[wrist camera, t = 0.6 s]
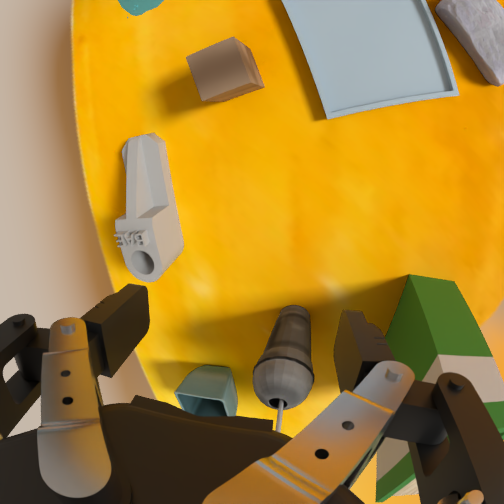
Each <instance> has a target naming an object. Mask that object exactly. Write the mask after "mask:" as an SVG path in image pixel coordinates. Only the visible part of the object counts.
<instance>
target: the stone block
mask: <svg viewBox="0 0 504 504" xmlns="http://www.w3.org/2000/svg"><path fill="white" fill-rule="evenodd" d="M435 12H436V13H437V15H438V16H439V18H440V19H441V20H442V21H443V22H444V23H445V25H446V26H447V27H448V28H449V29H450V31H451V32H452V33H453V34H454V36H455V37H456V38H457V39H458V41H459V42H460V43H461V45H462V46H463V47H464V49H465V50H466V51H467V53H468V54H469V55H470V57H471V58H472V59H473V61H474V63H475V64H476V66H477V67H478V69H479V70H480V72H481V73H482V75H483V76H484V78H485V79H486V80H487V81H488V82H489V83H491V84H493V85H495V86H500V85H502V84H504V9H503V7H502V6H501V5H500V4H499V3H498V2H497V1H496V0H442V1H440V3H439V4H438V5H437V6H436V8H435Z"/></svg>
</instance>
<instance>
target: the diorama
mask: <svg viewBox="0 0 504 504" xmlns="http://www.w3.org/2000/svg"><path fill="white" fill-rule="evenodd" d="M118 1H119V3H120V5H121V7H122V8H123V9H125V10H126V11H127V12H129V13H130V14H131V15H134V16H138V15H141V14H143V13H144V12H146V11H148V10H151V9H153V8H156V7H158V6H159V5H160V4H161V3H162V2H163V1H164V0H118ZM127 18H128V17H127Z"/></svg>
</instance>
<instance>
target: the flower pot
mask: <svg viewBox="0 0 504 504" xmlns="http://www.w3.org/2000/svg"><path fill="white" fill-rule="evenodd" d="M174 393H175V396H176V398H177V400H178V402H179V404H180V406H181V408H182V410H184V411H187V412H189V413H191V414H194V415H197V416H203V417H211V416H236V411H237V404H238V399H237V392H236V387H235V383H234V380H233V376H232V372H231V369H230V368H228V367H218V366H210V365H204V366H201V367H198V368H196V369H195V370H193V371H192V372H190V373H189V374H188V375H187V376H186V378H185V379H184V380H183V382H182V383H181V384H180V386H179V387H178V388H177V390H176V391H175V392H174Z"/></svg>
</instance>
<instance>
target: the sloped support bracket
mask: <svg viewBox="0 0 504 504" xmlns="http://www.w3.org/2000/svg"><path fill="white" fill-rule="evenodd" d="M122 155H123V161H124V166H125V171H126V176H127V179H126V213H125V214H124V215H122V216H121V217H119V218H118V219H116V220H115V229H116V234H115V235H114V236H118V240H116V242H119V243H120V244H119V245H118V247H121V250H122V254H123V257H124V260H125V263H126V266H127V268H128V269H129V271H130V272H131V273H132V274H133V275H134V276H135V277H136V278H138V279H139V280H141V281H144V282H154V281H156V280H157V279H159V278H160V276H161V275H162V274H163V273H164V272H165V271H166V270H167V268H168V267H169V266H170V265H171V264H172V263H173V262H174V261H175V259H176V258H177V257H178V256H179V255H180V254H181V253H182V251H183V248H184V241H183V236H182V231H181V226H180V222H179V217H178V212H177V207H176V201H175V196H174V191H173V186H172V180H171V174H170V169H169V163H168V157H167V151H166V145H165V141H163V140H162V139H161V138H160V137H158V136H157V135H156V134H155V133H150V134H145V135H141V136H136V137H132V138H129V139H128V141H127V142H126V144H125V146H124V148H123V149H122Z"/></svg>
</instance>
